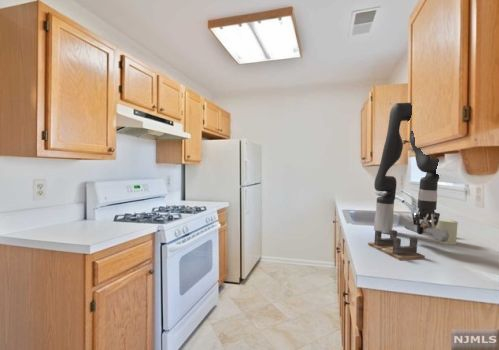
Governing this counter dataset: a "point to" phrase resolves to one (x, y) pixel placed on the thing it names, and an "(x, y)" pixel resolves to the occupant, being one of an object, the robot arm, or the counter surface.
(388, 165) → the robot arm
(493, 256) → the counter surface
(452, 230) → the can
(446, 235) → the tube
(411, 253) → the cradle stand
